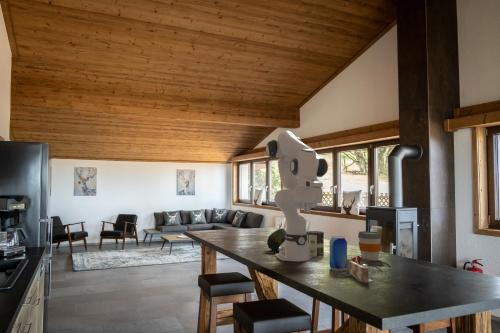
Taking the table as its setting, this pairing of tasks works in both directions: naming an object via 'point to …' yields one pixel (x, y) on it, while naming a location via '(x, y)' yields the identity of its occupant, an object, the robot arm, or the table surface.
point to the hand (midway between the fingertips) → (307, 212)
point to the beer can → (338, 253)
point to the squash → (276, 239)
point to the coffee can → (315, 243)
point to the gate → (357, 270)
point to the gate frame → (357, 279)
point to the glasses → (365, 259)
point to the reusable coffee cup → (369, 245)
